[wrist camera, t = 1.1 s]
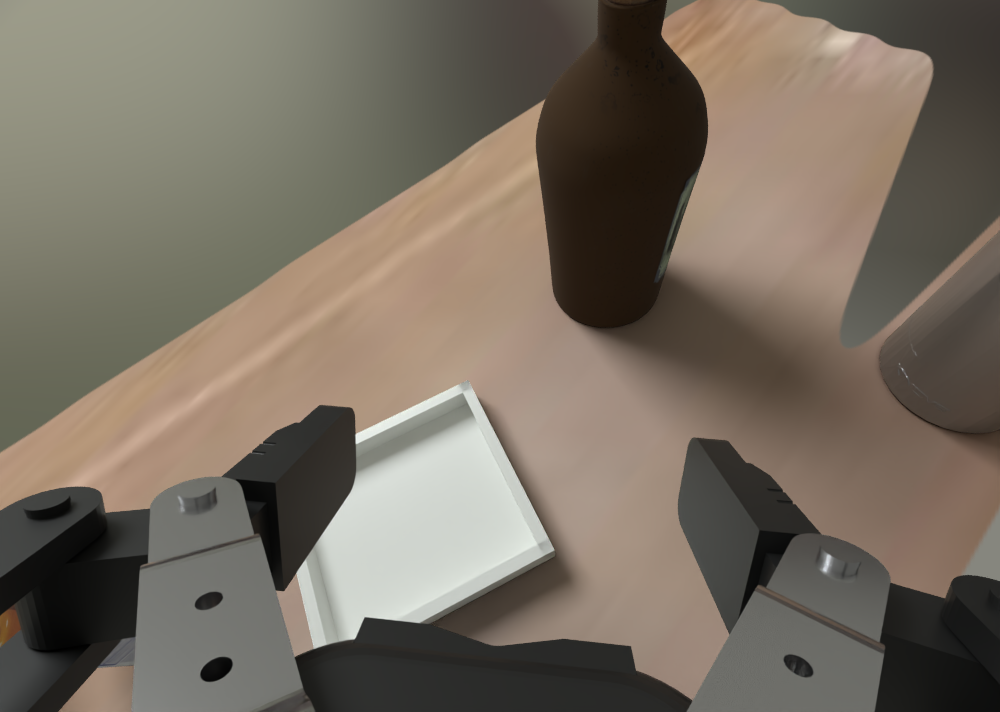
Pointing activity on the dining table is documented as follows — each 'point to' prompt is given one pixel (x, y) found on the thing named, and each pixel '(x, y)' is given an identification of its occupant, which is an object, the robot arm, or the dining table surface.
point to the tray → (421, 522)
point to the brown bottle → (618, 165)
